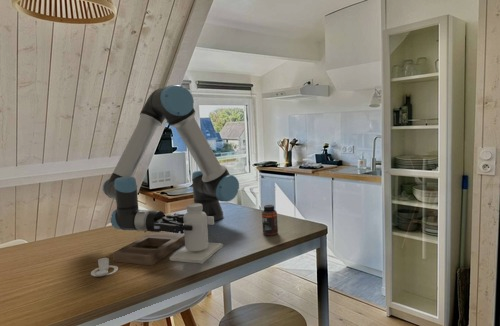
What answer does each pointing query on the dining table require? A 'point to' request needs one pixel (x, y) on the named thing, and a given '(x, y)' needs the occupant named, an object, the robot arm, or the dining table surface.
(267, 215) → the supplement bottle
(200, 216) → the pill bottle
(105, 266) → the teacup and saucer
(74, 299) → the dining table surface
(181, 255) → the board
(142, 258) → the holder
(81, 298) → the dining table surface
